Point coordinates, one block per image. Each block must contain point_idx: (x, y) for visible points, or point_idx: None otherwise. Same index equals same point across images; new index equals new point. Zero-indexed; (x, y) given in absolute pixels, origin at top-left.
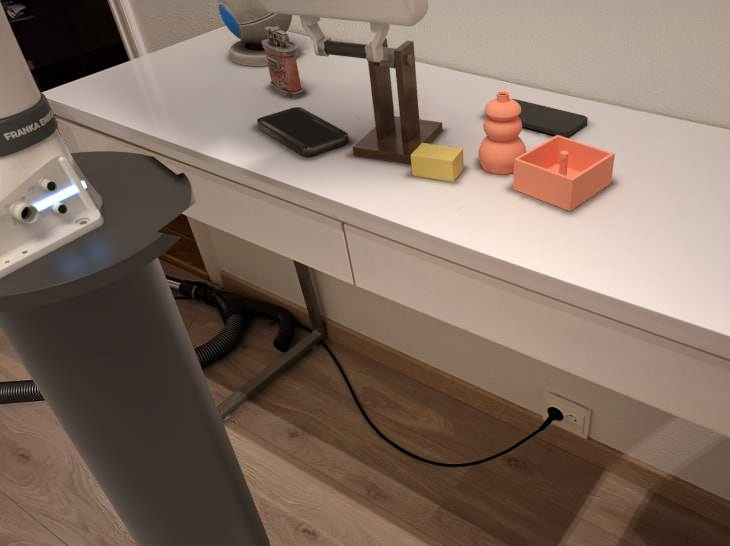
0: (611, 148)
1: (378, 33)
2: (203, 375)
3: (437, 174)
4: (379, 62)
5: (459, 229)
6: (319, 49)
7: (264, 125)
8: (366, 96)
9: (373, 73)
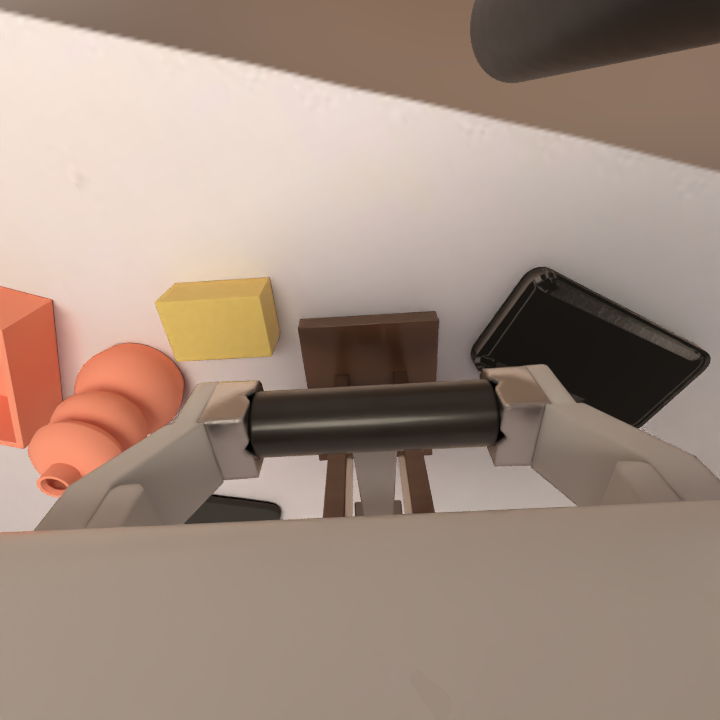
0: (31, 479)
1: (92, 481)
2: (599, 16)
3: (205, 285)
4: (401, 509)
5: (2, 74)
6: (525, 379)
7: (684, 341)
8: (516, 508)
9: (414, 477)
